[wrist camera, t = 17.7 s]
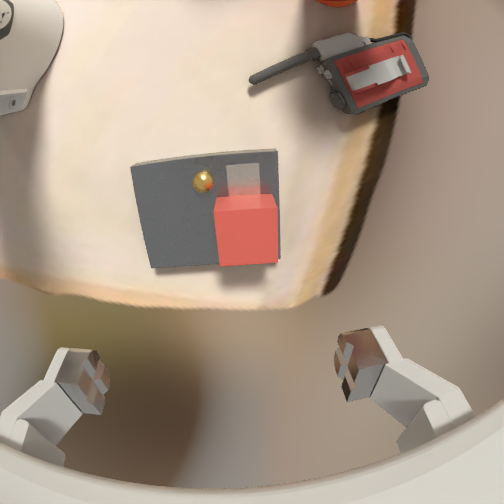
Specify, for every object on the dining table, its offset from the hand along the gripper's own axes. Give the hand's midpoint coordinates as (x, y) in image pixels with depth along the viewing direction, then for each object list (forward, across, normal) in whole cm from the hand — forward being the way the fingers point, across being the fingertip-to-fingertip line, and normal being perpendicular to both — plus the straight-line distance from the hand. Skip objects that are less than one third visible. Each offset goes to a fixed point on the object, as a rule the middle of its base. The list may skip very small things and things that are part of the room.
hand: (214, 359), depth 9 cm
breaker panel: (+24, +2, +4) cm, 24 cm away
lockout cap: (+22, -2, +4) cm, 22 cm away
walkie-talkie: (+24, -14, -11) cm, 30 cm away
